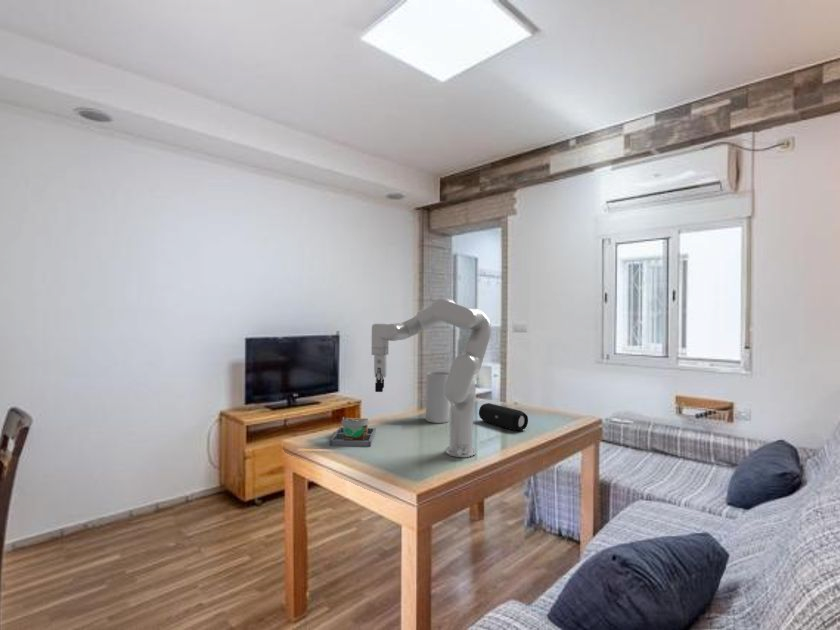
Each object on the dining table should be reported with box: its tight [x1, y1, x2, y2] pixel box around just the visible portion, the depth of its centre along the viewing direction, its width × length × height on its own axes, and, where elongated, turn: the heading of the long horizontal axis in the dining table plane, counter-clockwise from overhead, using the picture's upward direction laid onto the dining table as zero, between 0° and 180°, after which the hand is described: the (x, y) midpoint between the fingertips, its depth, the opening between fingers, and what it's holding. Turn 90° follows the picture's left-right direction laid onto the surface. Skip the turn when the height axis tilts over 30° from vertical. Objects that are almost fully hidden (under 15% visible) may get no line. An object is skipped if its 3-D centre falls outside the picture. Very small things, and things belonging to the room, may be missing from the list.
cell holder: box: [329, 426, 377, 448], centre depth 199 cm, size 21×17×3 cm
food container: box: [340, 416, 370, 441], centre depth 193 cm, size 12×6×10 cm, turn 72°
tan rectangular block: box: [345, 417, 369, 434], centre depth 204 cm, size 6×10×7 cm, turn 90°
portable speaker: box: [478, 402, 529, 431], centre depth 232 cm, size 26×10×10 cm, turn 40°
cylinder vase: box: [425, 371, 451, 424], centre depth 239 cm, size 12×12×25 cm
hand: (379, 389), depth 201 cm, fingers open, 9 cm apart
